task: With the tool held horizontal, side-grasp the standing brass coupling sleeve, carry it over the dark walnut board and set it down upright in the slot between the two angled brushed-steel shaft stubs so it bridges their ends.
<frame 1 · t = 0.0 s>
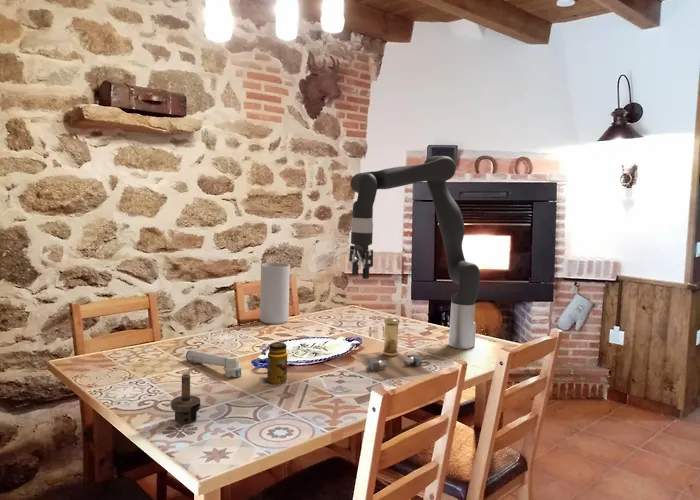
hand: (360, 276, 197), 29 cm above the table, tool pointing down, fingers open, 8 cm apart
industrial component: (187, 422, 144), on the table
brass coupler: (390, 354, 203), point 1 cm above the table, touching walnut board
shaft b: (378, 369, 187), resting on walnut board
shaft a: (411, 365, 193), resting on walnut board
grey lever handle: (213, 369, 184), on the table
cylinder vase: (274, 321, 248), on the table
condiment: (274, 382, 174), on the table
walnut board: (390, 365, 193), on the table
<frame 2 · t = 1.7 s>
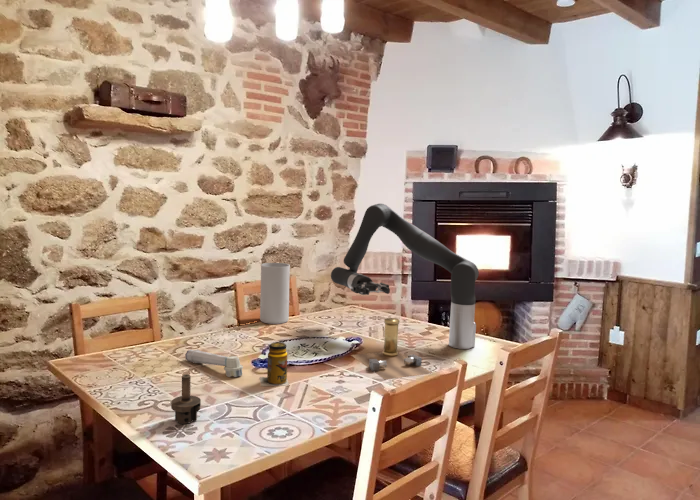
hand: (378, 291, 211), 22 cm above the table, tool horizontal, fingers open, 8 cm apart
nothing on the table moved.
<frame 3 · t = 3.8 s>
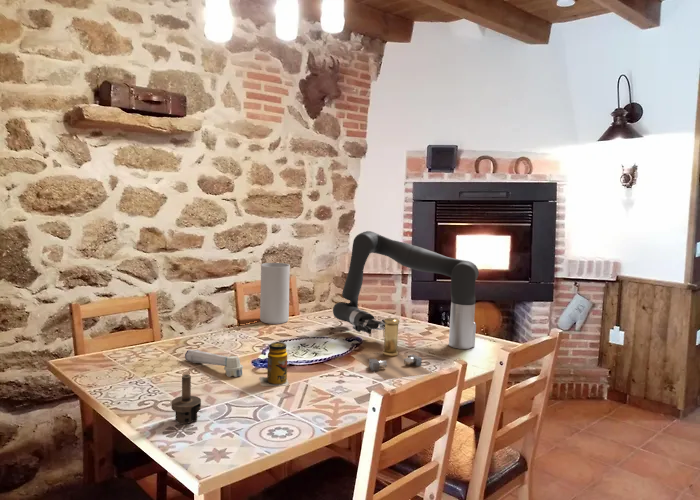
hand: (380, 330, 210), 7 cm above the table, tool horizontal, fingers open, 8 cm apart
nothing on the table moved.
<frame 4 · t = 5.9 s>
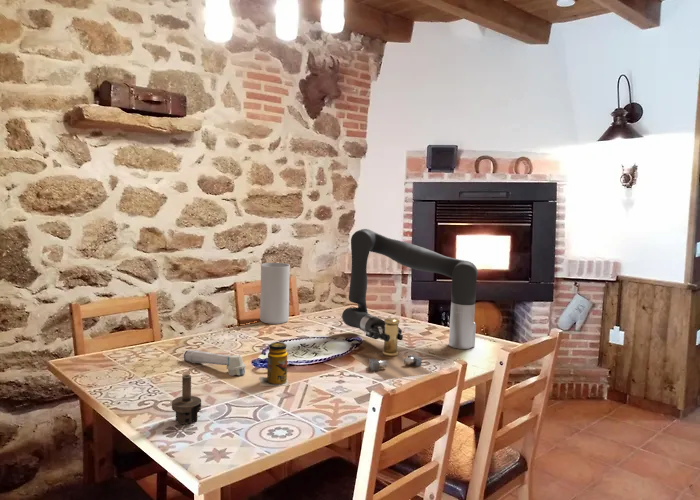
hand: (394, 338, 200), 8 cm above the table, tool horizontal, fingers closed on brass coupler, 5 cm apart
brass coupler: (390, 354, 203), point 1 cm above the table, touching gripper, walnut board
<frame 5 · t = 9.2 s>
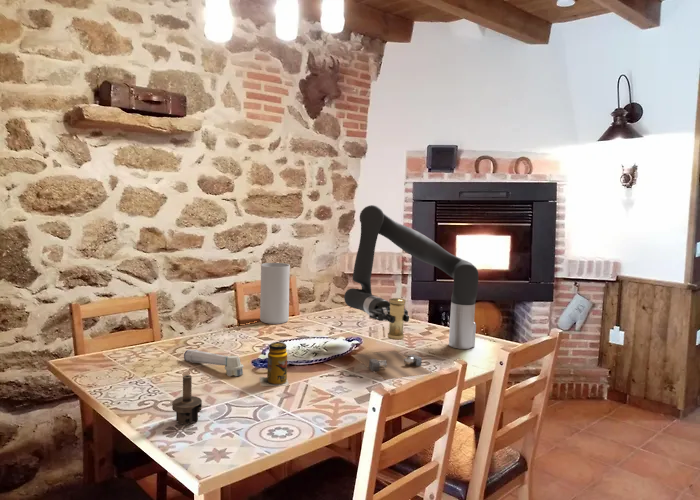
hand: (400, 319, 186), 18 cm above the table, tool horizontal, fingers closed on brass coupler, 4 cm apart
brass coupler: (395, 337, 189), point 11 cm above the table, touching gripper
everything else where it was.
when the fingers open (9 cm above the table, at t = 11.8 s): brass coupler drops 2 cm, resting on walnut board.
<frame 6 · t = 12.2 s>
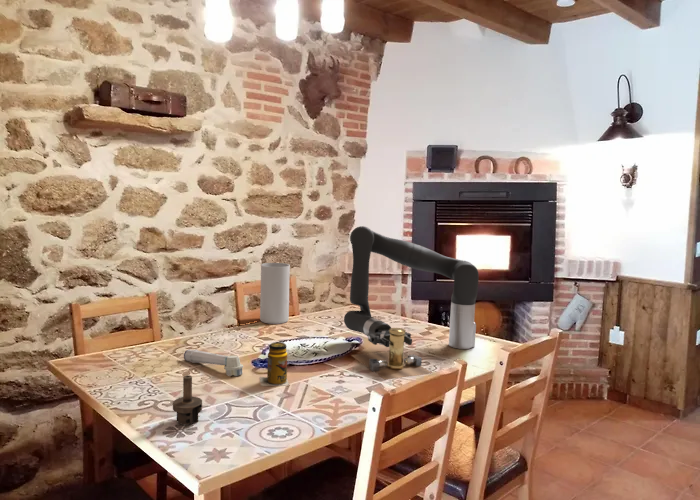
hand: (399, 343, 187), 10 cm above the table, tool horizontal, fingers open, 8 cm apart
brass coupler: (395, 367, 190), point 1 cm above the table, touching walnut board
everything else where it was.
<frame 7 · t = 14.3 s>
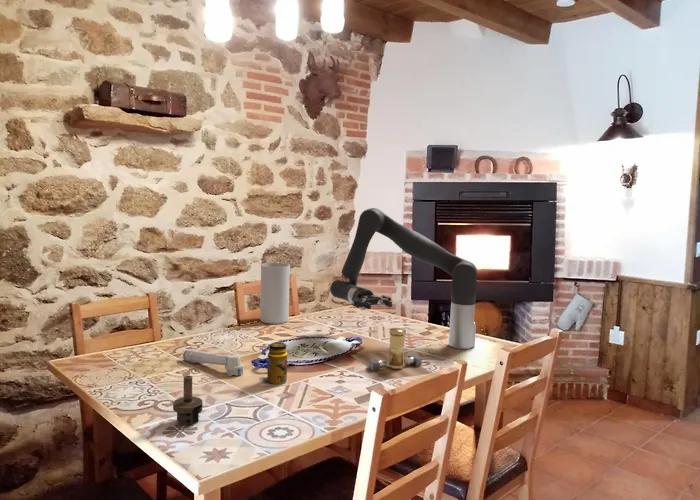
hand: (380, 305, 201), 19 cm above the table, tool horizontal, fingers open, 8 cm apart
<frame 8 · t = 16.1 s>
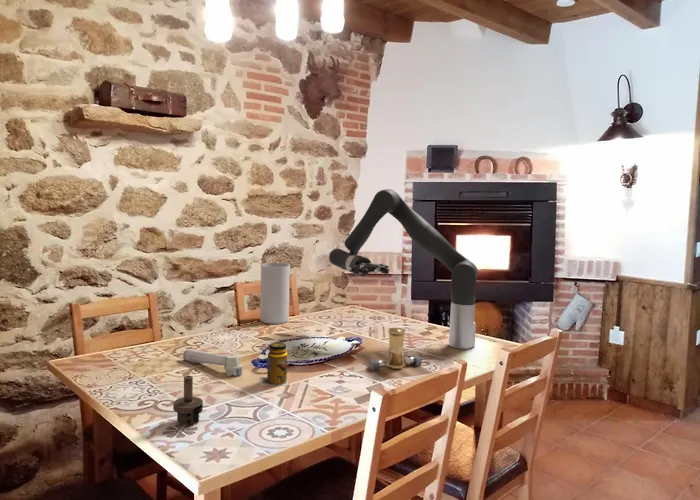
hand: (377, 271, 205), 30 cm above the table, tool horizontal, fingers open, 8 cm apart
at the end: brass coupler 0.1 cm from the target spot, point 0.6 cm above the table; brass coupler tilted 1°; the gripper is holding nothing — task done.
